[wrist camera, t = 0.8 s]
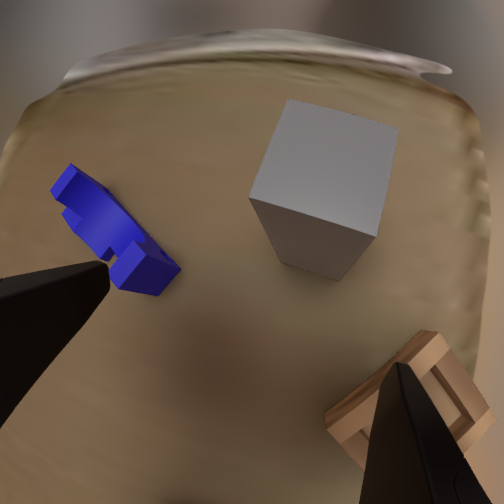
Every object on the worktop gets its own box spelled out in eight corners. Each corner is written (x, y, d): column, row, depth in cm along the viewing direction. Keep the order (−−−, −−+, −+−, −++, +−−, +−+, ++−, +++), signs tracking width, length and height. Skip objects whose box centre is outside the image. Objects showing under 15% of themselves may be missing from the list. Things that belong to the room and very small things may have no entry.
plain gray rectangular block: (338, 281, 22) (375, 236, 9) (280, 262, 23) (248, 197, 11) (355, 225, 23) (398, 129, 10) (299, 207, 24) (287, 99, 11)
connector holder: (388, 484, 18) (398, 505, 14) (323, 413, 20) (326, 429, 17) (476, 409, 18) (496, 419, 14) (420, 330, 20) (438, 332, 17)
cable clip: (80, 222, 28) (40, 203, 22) (107, 188, 28) (70, 163, 22) (147, 309, 24) (105, 305, 19) (182, 269, 25) (146, 254, 19)
